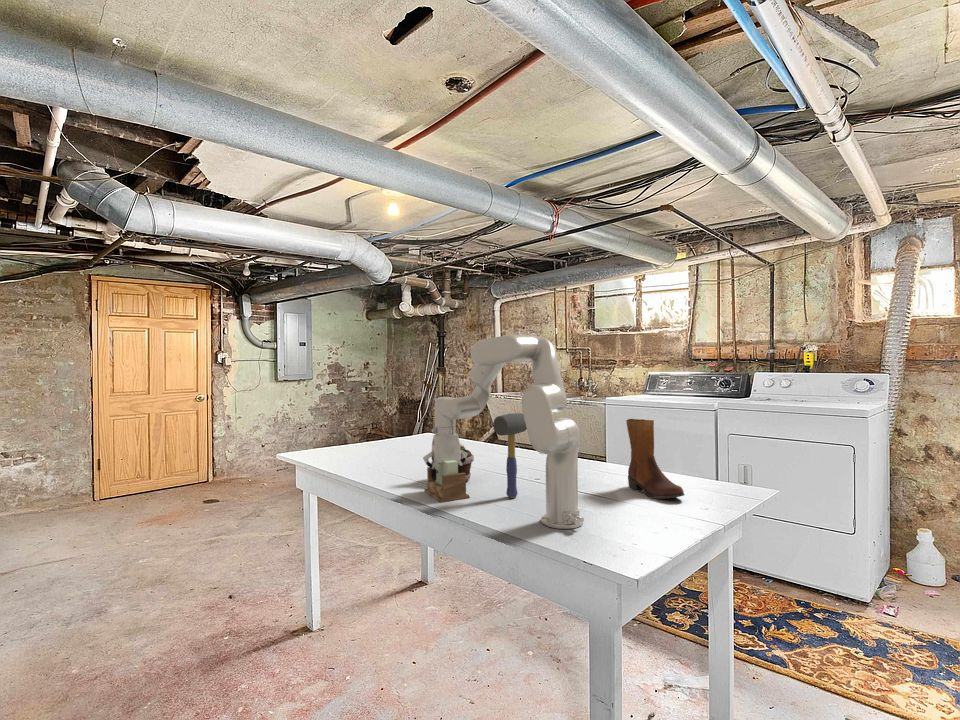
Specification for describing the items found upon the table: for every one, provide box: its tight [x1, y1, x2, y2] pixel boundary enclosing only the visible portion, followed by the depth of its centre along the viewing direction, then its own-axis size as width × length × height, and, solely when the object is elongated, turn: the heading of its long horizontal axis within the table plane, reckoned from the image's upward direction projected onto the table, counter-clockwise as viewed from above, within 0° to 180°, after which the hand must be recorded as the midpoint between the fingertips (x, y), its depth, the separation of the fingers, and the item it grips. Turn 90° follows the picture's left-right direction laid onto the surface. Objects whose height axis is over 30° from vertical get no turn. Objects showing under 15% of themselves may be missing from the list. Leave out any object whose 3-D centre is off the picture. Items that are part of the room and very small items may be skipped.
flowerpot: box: [460, 443, 475, 483], centre depth 203 cm, size 14×15×20 cm
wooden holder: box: [424, 466, 470, 503], centre depth 184 cm, size 16×11×9 cm
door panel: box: [435, 460, 458, 486], centre depth 184 cm, size 12×4×12 cm, turn 27°
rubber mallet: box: [492, 412, 527, 499], centre depth 179 cm, size 12×8×30 cm, turn 135°
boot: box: [625, 418, 685, 500], centre depth 182 cm, size 25×9×27 cm, turn 17°
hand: (446, 477), depth 184 cm, fingers open, 9 cm apart
